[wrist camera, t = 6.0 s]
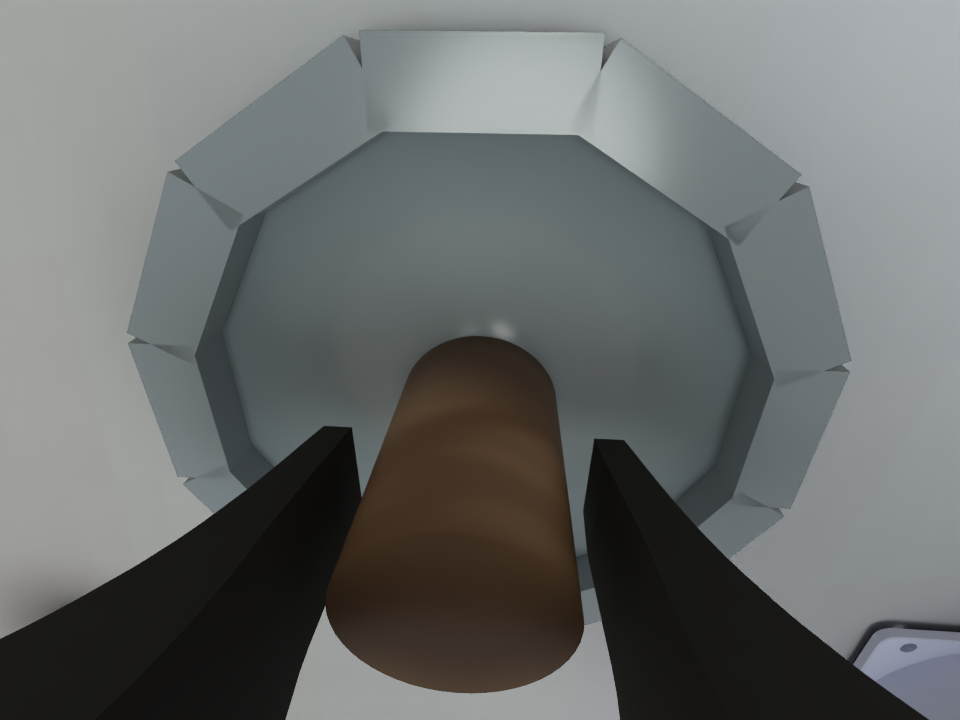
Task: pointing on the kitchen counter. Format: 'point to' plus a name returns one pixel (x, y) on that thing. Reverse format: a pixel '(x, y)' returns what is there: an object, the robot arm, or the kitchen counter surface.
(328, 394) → the slate dish
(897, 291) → the kitchen counter surface
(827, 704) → the robot arm
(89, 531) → the kitchen counter surface
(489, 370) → the walnut cylinder
